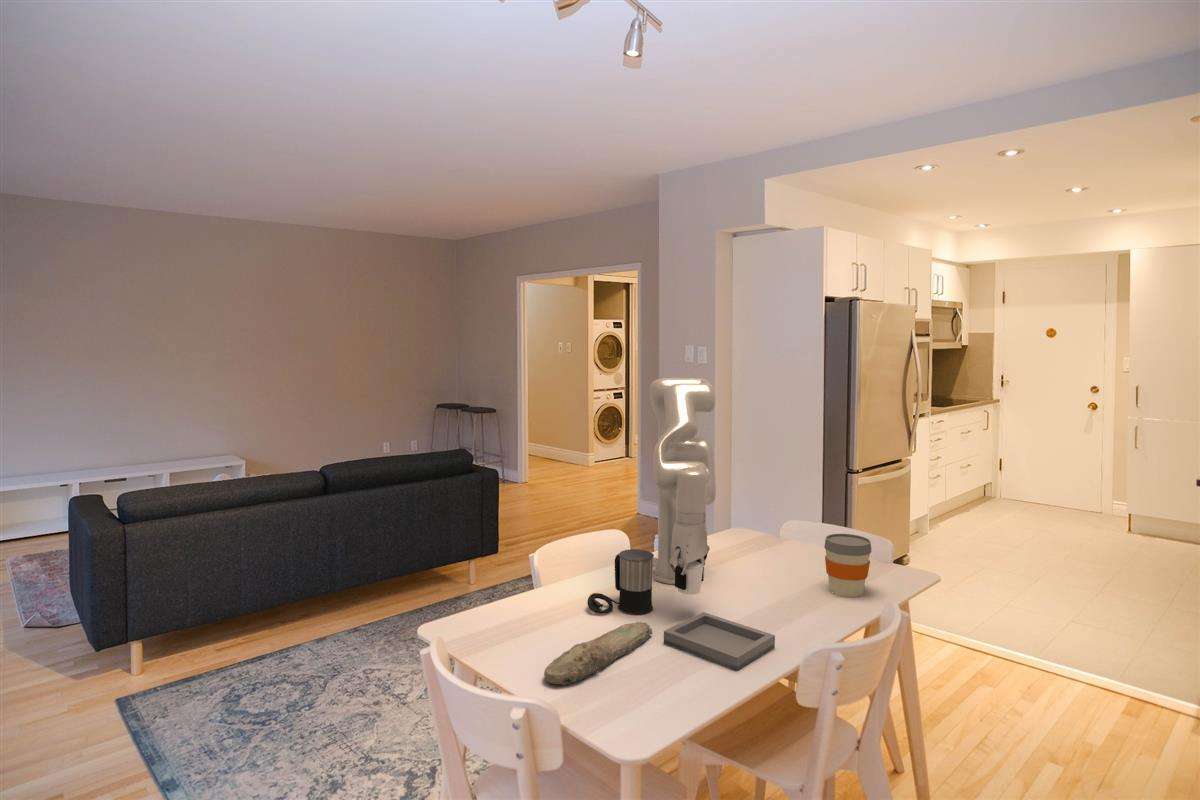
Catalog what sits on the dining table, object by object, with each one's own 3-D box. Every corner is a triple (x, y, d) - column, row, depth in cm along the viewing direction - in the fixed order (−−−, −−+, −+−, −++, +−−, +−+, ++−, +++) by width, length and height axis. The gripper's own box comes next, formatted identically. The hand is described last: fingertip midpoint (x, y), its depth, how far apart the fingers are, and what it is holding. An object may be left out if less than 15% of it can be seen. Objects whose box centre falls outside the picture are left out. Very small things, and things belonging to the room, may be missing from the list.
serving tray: (663, 643, 166) (663, 631, 166) (703, 623, 178) (703, 612, 178) (736, 671, 153) (737, 657, 152) (774, 647, 164) (775, 635, 164)
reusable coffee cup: (855, 603, 192) (857, 548, 191) (814, 590, 202) (815, 538, 200) (878, 592, 201) (880, 540, 199) (837, 580, 210) (839, 531, 209)
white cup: (701, 596, 179) (702, 570, 178) (674, 594, 180) (674, 567, 179) (703, 586, 185) (704, 560, 184) (676, 584, 187) (677, 558, 186)
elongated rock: (663, 643, 170) (629, 635, 176) (662, 621, 170) (628, 613, 176) (569, 693, 142) (532, 681, 148) (569, 667, 142) (532, 656, 148)
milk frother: (660, 608, 188) (661, 553, 186) (620, 626, 176) (621, 567, 175) (620, 595, 198) (620, 543, 196) (580, 610, 186) (580, 555, 185)
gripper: (698, 507, 189) (697, 571, 191) (657, 521, 176) (656, 589, 179) (722, 512, 184) (720, 578, 186) (682, 527, 171) (680, 598, 174)
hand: (689, 583), depth 182 cm, fingers closed on white cup, 6 cm apart
